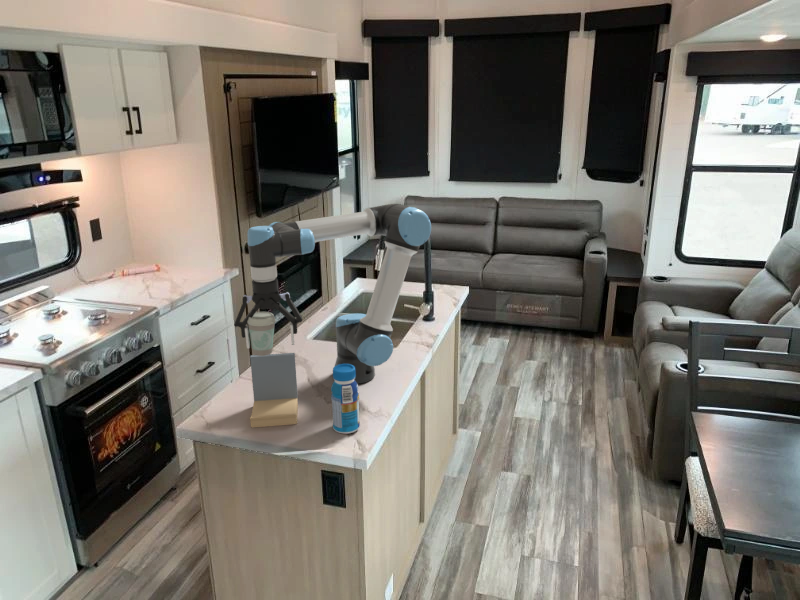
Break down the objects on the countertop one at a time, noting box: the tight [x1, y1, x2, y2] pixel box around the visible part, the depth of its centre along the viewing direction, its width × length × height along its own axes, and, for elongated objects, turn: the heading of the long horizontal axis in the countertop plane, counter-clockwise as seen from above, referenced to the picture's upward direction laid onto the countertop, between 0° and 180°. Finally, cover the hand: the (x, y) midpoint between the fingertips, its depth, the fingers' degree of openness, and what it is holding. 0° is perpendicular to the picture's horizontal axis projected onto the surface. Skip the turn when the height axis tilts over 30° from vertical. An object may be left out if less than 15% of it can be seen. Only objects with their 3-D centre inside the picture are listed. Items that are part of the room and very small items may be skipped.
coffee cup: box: [247, 311, 277, 356], centre depth 180 cm, size 8×8×12 cm
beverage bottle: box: [330, 364, 361, 435], centre depth 178 cm, size 8×8×20 cm
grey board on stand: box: [249, 352, 299, 429], centre depth 186 cm, size 14×15×18 cm
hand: (271, 345), depth 181 cm, fingers open, 13 cm apart
